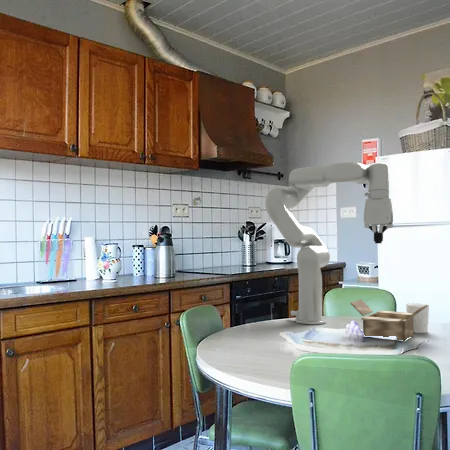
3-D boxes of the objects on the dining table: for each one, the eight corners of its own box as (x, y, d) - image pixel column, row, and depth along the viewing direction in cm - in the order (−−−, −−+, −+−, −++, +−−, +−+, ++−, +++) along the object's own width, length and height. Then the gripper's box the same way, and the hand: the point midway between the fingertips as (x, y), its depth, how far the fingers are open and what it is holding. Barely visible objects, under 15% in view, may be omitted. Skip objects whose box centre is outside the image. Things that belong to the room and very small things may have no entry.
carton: (358, 339, 161) (358, 317, 161) (377, 330, 179) (377, 310, 180) (400, 344, 153) (400, 321, 154) (416, 334, 171) (416, 313, 172)
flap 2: (405, 318, 158) (419, 308, 156) (413, 314, 167) (426, 304, 165) (406, 320, 158) (420, 309, 155) (414, 316, 167) (427, 306, 164)
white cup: (431, 334, 172) (431, 306, 173) (408, 333, 174) (408, 305, 174) (426, 330, 180) (426, 303, 180) (404, 329, 182) (404, 303, 182)
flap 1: (362, 315, 166) (350, 303, 169) (372, 312, 175) (360, 300, 178) (363, 314, 166) (351, 302, 169) (373, 311, 175) (361, 299, 178)
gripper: (356, 195, 183) (355, 243, 182) (395, 193, 174) (395, 243, 174) (362, 197, 189) (362, 243, 188) (401, 195, 180) (401, 243, 180)
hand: (378, 243), depth 181 cm, fingers closed
